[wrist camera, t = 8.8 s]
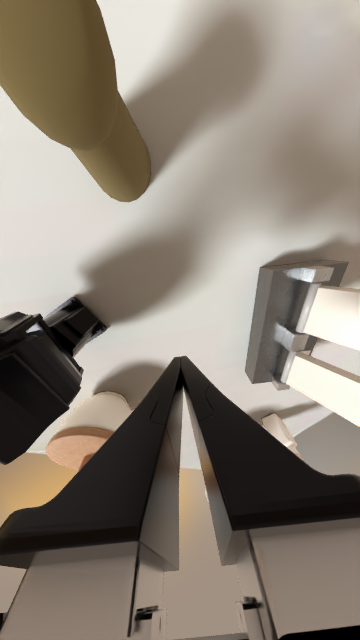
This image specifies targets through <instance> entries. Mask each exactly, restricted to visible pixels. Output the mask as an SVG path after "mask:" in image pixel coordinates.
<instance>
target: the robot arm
mask: <svg viewBox="0 0 360 640" xmlns="http://www.w3.org/2000/svg"><path fill="white" fill-rule="evenodd" d="M73 300H74V301H75V302H73ZM42 318H43V317H42V316H41V314H40V313H39V314H35V315H26V314H23V313H20V312H15V313H12V314H10V315H7V316H5V317H3V318H0V463H1V464H3V465H6V464H8V463H10V462H12V461H13V460H14V459H16V458H17V457H19V456H20V455H22V454H23V453H25V452H26V451H27V450H28V449H29V447H30V446H31V445H32V444H33V443H34V442H35V441H36V439H37V438H38V437H39V436H40V435H41V434H42V433H43V432H44V430H45V429H46V428H47V427H48V426H49V425H50V424H52V423H53V422H54V421H55V420H56V419H57V418H58V417H60V416H61V415H62V414H64V413H65V412H66V411H68V410H69V408H70V407H69V405H70V403H71V402H72V401H73V399H74V398H75V397H76V395H77V394H78V392H79V391H80V389H81V387H80V383H81V380H82V374H83V369H82V367H80V366H79V365H78V364H77V362H76V361H75V360H74V357H75V355H76V354H77V353H78V352H79V351H80V350H81V349H82V348H83V346H84V345H85V344H86V343H88V342H89V341H91V340H93V339H94V338H96V337H97V336H99V335H100V334H102V333H103V332H105V331H106V330H107V328H106V326H105V325H104V324H103V323H102V322H101V321H100V320H98V318H97V317H96V316H95V315H94V314H92V313H91V312H90V311H89V310H88V309H87V308H86V307H85V306H84V305H83V304H82V303H81V302H80V301H79V300H78V299H77V298H75V297H72V298H70V299H69V300H67V301H66V302H65V303H63V304H62V305H61V306H59V307H58V308H57V309H55V310H54V311H53V312H51V313H50V314H49V315H48V316H46V317H45V318H44V319H42ZM102 328H103V329H102ZM183 387H184V392H185V396H186V401H187V405H188V410H189V414H190V419H191V423H192V427H193V432H194V436H195V441H196V445H197V450H198V454H199V459H200V463H201V467H202V471H203V476H204V481H205V485H206V490H207V495H208V500H209V505H210V510H211V515H212V520H213V525H214V530H215V535H216V540H217V545H218V550H219V555H220V560H221V565H222V566H225V565H234V564H236V566H237V571H238V576H239V580H240V586H241V590H242V596H243V601H237V602H235V604H236V610H237V616H238V621H239V626H240V633H236V634H227V635H216V636H207V637H196V638H186V639H176V640H360V476H359V475H356V474H340V475H326V474H323V473H320V472H318V471H316V470H314V469H313V468H311V467H310V466H309V465H308V464H306V463H305V462H304V461H303V460H302V459H300V458H299V457H298V456H297V455H296V454H294V453H293V452H292V451H291V450H290V449H288V448H287V447H286V446H285V445H283V444H282V443H281V442H280V441H279V440H277V439H276V438H275V437H274V436H273V435H271V434H270V433H269V432H268V431H267V430H265V429H264V428H263V427H262V426H261V425H259V424H258V423H257V422H256V421H255V420H253V419H252V418H251V417H250V416H248V415H247V414H246V413H245V412H244V411H242V410H241V409H240V408H239V407H238V406H236V405H235V404H234V403H233V402H232V401H230V400H229V399H228V398H227V397H226V396H225V395H223V394H222V393H221V392H220V391H219V390H218V389H217V388H216V387H215V386H214V385H213V384H212V383H211V382H210V381H209V380H208V379H207V377H206V376H205V375H204V374H203V373H202V372H201V371H200V370H199V369H198V368H197V367H196V366H195V365H194V364H193V363H192V362H191V361H190V359H189V358H188V357H187V356H181V357H174V359H173V360H172V361H171V363H170V364H169V365H168V367H167V368H166V369H165V371H164V372H163V374H162V375H161V376H160V378H159V379H158V380H157V382H156V383H155V385H154V386H153V387H152V389H151V390H150V391H149V392H148V394H147V395H146V396H145V398H144V399H143V400H142V402H141V403H140V404H139V405H138V406H137V407H136V409H135V410H134V411H133V412H132V413H131V414H130V415H129V416H128V417H127V419H126V420H125V421H124V422H123V423H122V424H121V425H120V426H119V427H118V429H117V430H116V431H115V432H114V433H113V434H112V435H111V436H110V437H109V438H108V440H107V441H106V442H105V443H104V444H103V445H102V446H101V447H100V448H99V450H98V451H97V452H96V453H95V454H94V455H93V456H92V457H91V458H90V460H89V461H88V462H87V463H86V464H85V465H84V466H83V467H82V468H81V469H80V471H79V472H78V473H77V474H76V475H75V476H74V477H73V478H72V480H71V481H70V482H69V483H68V484H67V485H66V486H65V487H64V488H63V489H62V490H61V492H60V493H59V494H58V495H57V496H56V497H54V498H53V499H52V500H51V501H49V502H48V503H46V504H44V505H42V506H39V507H34V508H25V509H20V510H17V511H15V512H13V513H12V514H10V515H9V517H8V518H7V519H6V520H5V522H4V523H3V525H2V526H1V527H0V565H1V566H8V567H16V568H24V569H27V570H26V572H25V575H24V577H23V579H22V581H21V584H20V586H19V588H18V590H17V593H16V595H15V597H14V599H13V602H12V603H11V606H10V608H9V610H8V612H7V613H0V640H166V636H167V635H166V634H167V629H166V628H167V609H163V596H164V572H167V571H176V570H179V469H180V449H181V428H182V408H183Z"/></svg>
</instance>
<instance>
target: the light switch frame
mask: <svg viewBox="0 0 360 640" xmlns="http://www.w3.org/2000/svg"><path fill="white" fill-rule="evenodd" d="M347 265H348V262H342V261H331V260H320V261H312V262H303V263H295V264H286V265H278V266H270V267H261V268H260V270H259V277H258V284H257V291H256V298H255V305H254V312H253V319H252V326H251V332H250V339H249V346H248V353H247V360H246V367H245V372H246V374H247V376H248V377H249V379H250V381H251V383H252V384H255V383H264V382H272V383H273V385H274V386H275V388H276V389H277V390H286V389H289V388H290V386H289V385H288V384H286V383H283V382H281V380H280V379H281V376H282V372H283V369H284V366H285V363H286V360H287V356H288V353H289V351H290V352H292V351H298V352H302V353H304V354H306V355H309V356H310V355H311V353H312V350H313V348H314V345H315V343H316V341H317V338H318V337H316V336H313V335H310V334H306V333H299V332H297V331H296V327H297V324H298V321H299V317H300V314H301V311H302V308H303V305H304V301H305V298H306V295H307V292H308V289H309V286H310V283H314V282H318V283H322V284H321V286H322V285H325V286H334V287H339V284H340V282H341V279H342V277H343V275H344V272H345V270H346V267H347Z"/></svg>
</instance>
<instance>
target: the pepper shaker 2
mask: <svg viewBox="0 0 360 640" xmlns="http://www.w3.org/2000/svg"><path fill="white" fill-rule="evenodd" d="M262 422H263V424H264V426H265V428H266V430H267V431H268V432H269V433H270V434H271V435H273V436H274V437H275V438H276V439H277V440H279V441H280V442H281V443H282V444H283V445H285V446H286V447H287V448H288V449H290V450H291V451H292V452H293V453H294V454H296V455H297V456H298V457H299V458H300V459H302V457H301V456H300V454H299V453H298V451H297V450H296V446H297V444H296V442H295V440H294V439H293V437H292V435H291V434H290V432H289V431H288V429H287V427H286V426H285V424H284V423H283V421H282V420H281V419H280V418H279V417H278V416H277V415H276V414H271V415H269V416H267V417H265V418H263V419H262ZM302 460H303V459H302ZM303 461H304V460H303Z"/></svg>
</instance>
